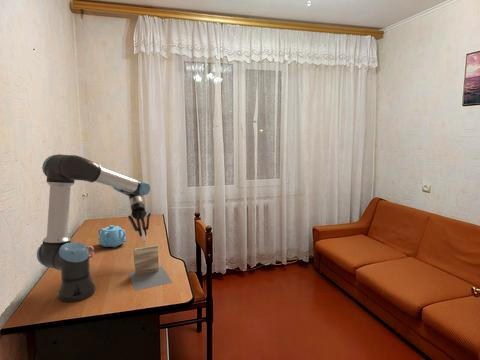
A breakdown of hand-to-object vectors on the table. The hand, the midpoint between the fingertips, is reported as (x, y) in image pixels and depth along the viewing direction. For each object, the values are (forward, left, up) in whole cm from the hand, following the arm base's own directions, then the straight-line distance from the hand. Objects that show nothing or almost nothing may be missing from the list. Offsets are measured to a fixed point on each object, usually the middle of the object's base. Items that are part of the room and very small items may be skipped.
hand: (144, 240), depth 176 cm
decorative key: (-2, +47, -15) cm, 50 cm away
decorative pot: (+23, +42, -15) cm, 50 cm away
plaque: (-8, -6, -14) cm, 17 cm away
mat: (-13, -11, -15) cm, 23 cm away
